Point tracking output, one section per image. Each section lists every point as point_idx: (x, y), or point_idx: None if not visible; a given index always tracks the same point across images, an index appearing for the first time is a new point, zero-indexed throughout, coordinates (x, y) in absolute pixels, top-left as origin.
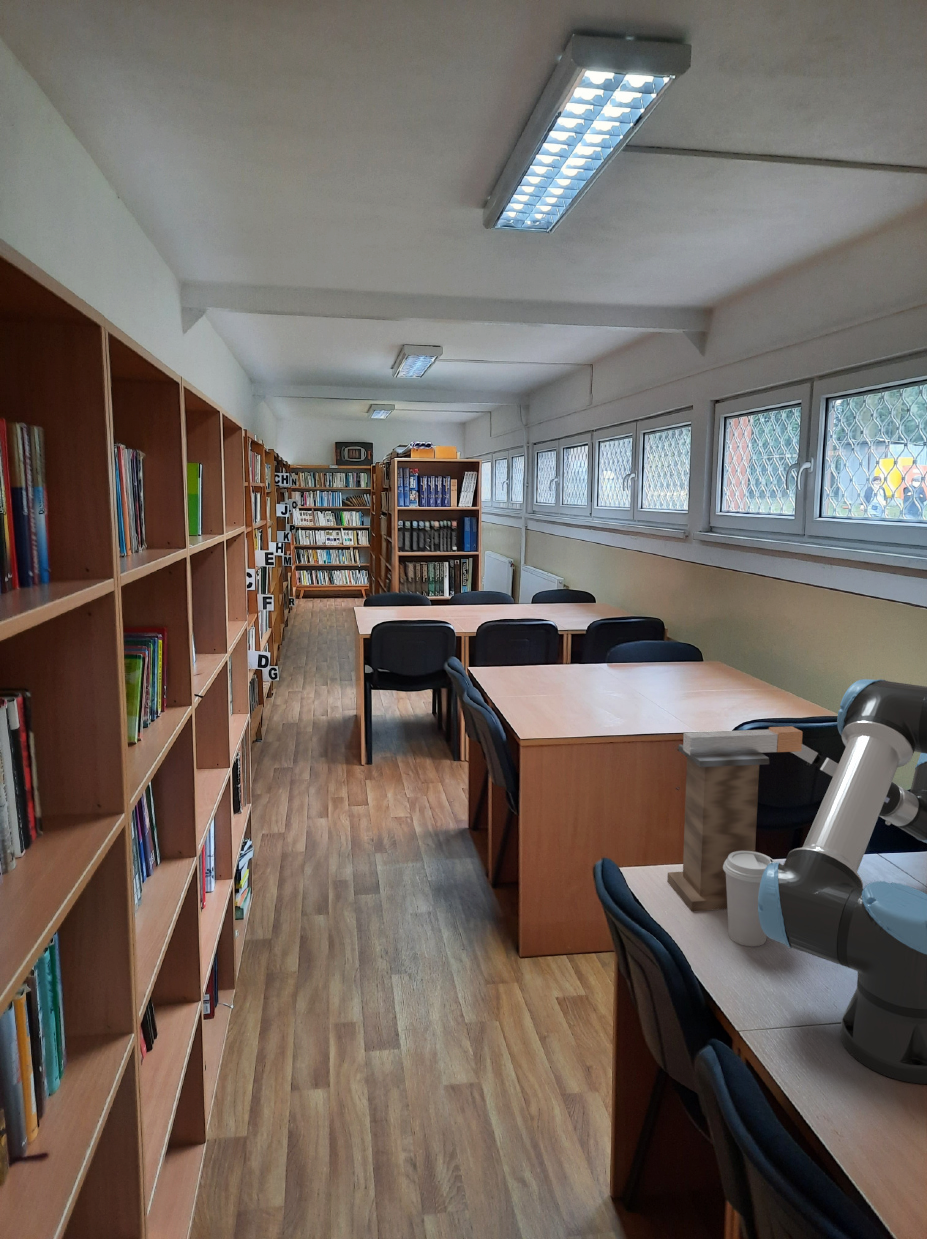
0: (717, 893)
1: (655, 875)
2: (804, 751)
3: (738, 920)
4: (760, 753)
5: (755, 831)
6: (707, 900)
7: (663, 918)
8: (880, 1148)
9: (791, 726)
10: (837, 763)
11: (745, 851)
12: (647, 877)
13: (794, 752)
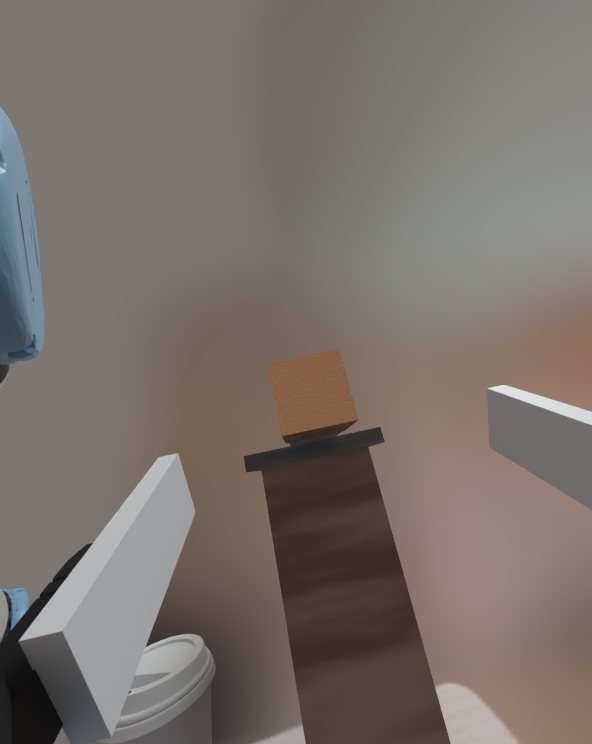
0: None
1: (461, 727)
2: (577, 454)
3: None
4: (283, 448)
5: (296, 684)
6: None
7: (290, 732)
8: None
9: (337, 350)
10: (135, 489)
11: (193, 655)
12: (445, 713)
13: (522, 460)
